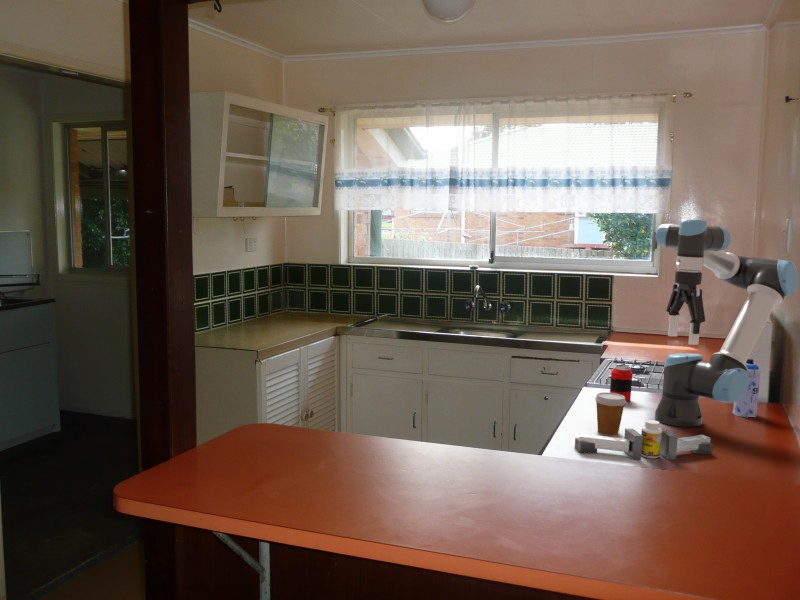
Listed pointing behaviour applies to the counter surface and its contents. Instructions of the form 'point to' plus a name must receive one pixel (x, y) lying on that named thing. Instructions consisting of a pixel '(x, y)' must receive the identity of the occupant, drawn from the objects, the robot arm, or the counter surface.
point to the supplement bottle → (651, 439)
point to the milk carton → (749, 393)
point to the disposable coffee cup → (609, 412)
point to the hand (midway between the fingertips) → (682, 340)
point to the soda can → (621, 382)
